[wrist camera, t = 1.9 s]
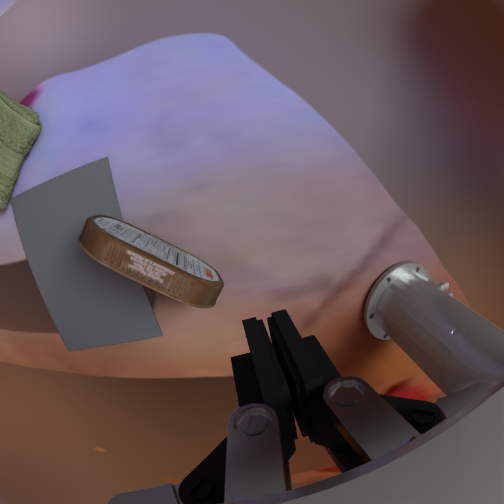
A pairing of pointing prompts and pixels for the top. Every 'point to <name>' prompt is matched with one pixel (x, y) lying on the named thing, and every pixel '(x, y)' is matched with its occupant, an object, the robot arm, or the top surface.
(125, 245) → the tin
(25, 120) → the washcloth
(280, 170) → the top surface
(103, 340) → the mat
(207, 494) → the robot arm
